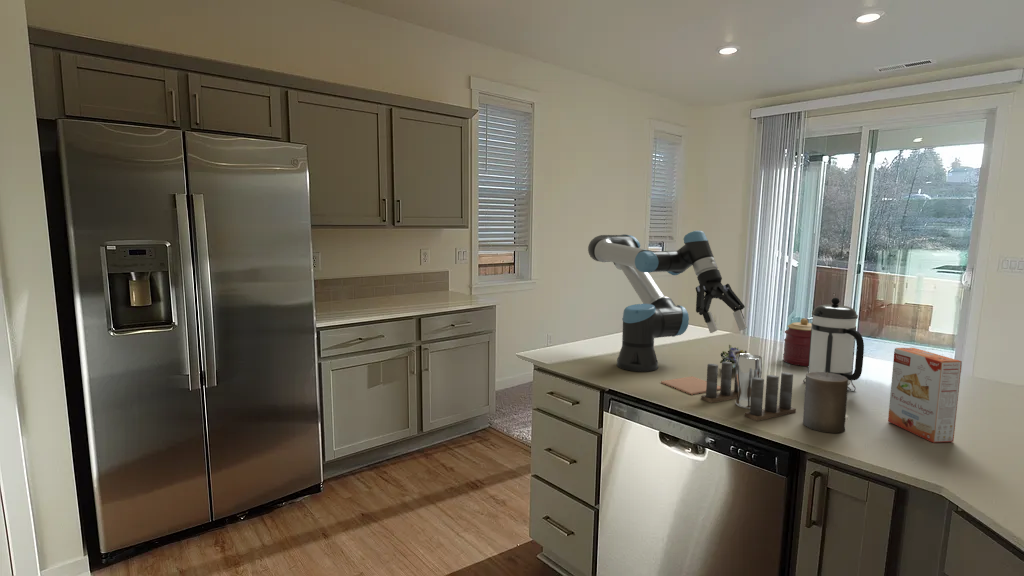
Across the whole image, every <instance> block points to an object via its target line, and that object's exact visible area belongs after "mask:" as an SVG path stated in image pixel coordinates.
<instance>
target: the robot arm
mask: <svg viewBox="0 0 1024 576" xmlns="http://www.w3.org/2000/svg"><path fill="white" fill-rule="evenodd" d="M683 243H684V244H683V245H682V246H681V247H680V248H678V249H677V250H650V249H644V248H642V247H641V243H640V242H639V240H638V239H637V238H636V237H635V236H634V235H628V234H600V235H598V236H597V235H596V236H595V237H593V238H592V239H591V241H590V242H589V244H588V247H587V251H588V252H587V253H588V254H589V256H590V258H591V259H592V260H593V261H595V262H602V263H606V262H607V263H609V262H611V263H612V264H613V265H614V267H616V269H617V270H621V271H622V272H623V274H624V276H626V279H627V280H628V282H629V283H630V285H631V286H632V288H633V290H634V291H635V293H636V294H637V297H639V299H640V300H641V302H642V303H638V304H631V305H628V306H626V307H625V308H624V309H623V313H622V339H621V340H622V341H621V342H622V343H621V348H620V350H619V354H618V357H617V358H616V359H617V360H616V366H617V367H618V368H619V369H622V370H625V371H631V372H643V371H644V372H653V371H657V370H658V369H659V362H658V361H659V360H658V359H657V354H656V350H655V346H654V345H655V339H658V338H659V339H660V338H669V337H672V338H674V337H677V336H682V335H684V333H686V331H687V330H688V327H689V325H690V324H689V321H690V318H689V317H690V316H689V312H688V310H687V309H686V308H685V306H682V305H680V304H677V305H676V304H675V302H674V300H673V299H672V298H671V297H668V296H666V295H664V293H663V291H662V290H661V289H660V287H659V286H658V285H657V282H655V280H654V278H653V277H652V275H651V274H650V273H658V272H659V273H661V272H664V273H665V272H667V274H669V275H672V276H678V275H680V274H682V273H685V272H686V270H687V269H689V268H691V267H693V270H694V273H695V276H697V277H696V278H697V280H698V281H697V282H698V284H699V285H697V286H696V287H695V291H696V292H695V293H696V297H695V298H696V300H695V301H696V302H695V312H696V313H697V314H698V315H700V316H702V317H703V320H704V322H705V323H706V325H707V328H708V331H709V334H713V333H715V332H717V331H718V327H717V324H716V322H715V319H714V316H713V312H712V311H710V307H711V304H712V300H713V299H718V300H721V301H722V302H723V303H725V304H726V305H727V306H728V307H729V308H730V309H731V310H732V311H733V312H732V314H733V317H734V321H735V323H736V325H737V328H738V331H744V330H746V329H747V328H748V327H747V323H746V322H745V317H744V314H743V312H742V310H744V308H745V307H746V306H745V305H744V303H743V301H741V300H740V298H739V297H738V295H737V294H736V293H735V292H734V291H733V289H732V287H731V285H730V283H726V284H724V285H723V284H722V280H723V277H722V275H721V272H720V269H719V267H718V264H717V262H716V260H715V257H714V254H713V251H712V249H711V245H710V242H709V240H708V238H707V235H706V234H705V232H704V231H703V230H693V231H690V232H688V233H687V234H685V235H684V237H683Z"/></svg>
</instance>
